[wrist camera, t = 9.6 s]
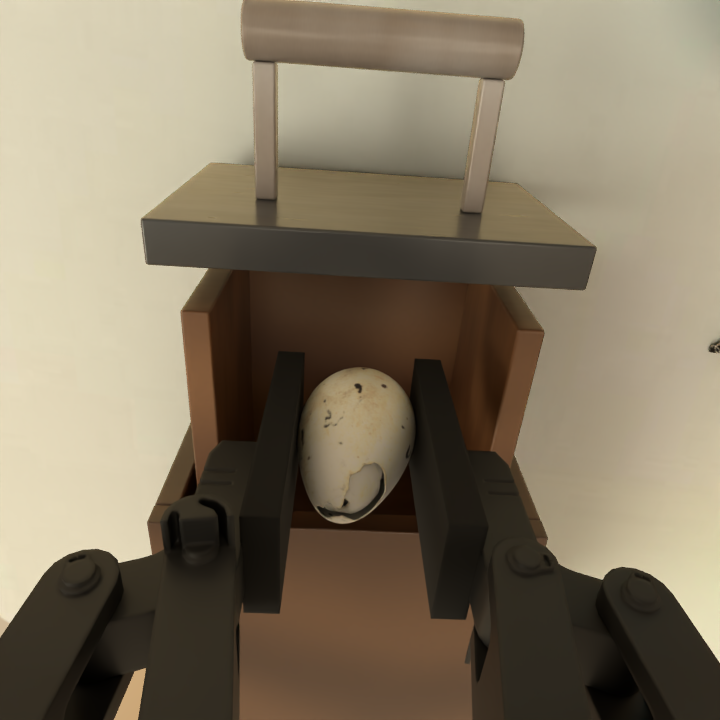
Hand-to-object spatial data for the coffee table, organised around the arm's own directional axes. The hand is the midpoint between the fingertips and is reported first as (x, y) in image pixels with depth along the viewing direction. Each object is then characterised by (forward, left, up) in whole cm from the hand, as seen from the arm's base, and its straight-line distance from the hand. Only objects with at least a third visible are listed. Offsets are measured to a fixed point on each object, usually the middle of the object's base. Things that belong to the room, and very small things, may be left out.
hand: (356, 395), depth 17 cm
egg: (0, 0, 0) cm, 0 cm away
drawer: (-1, 0, -7) cm, 7 cm away
